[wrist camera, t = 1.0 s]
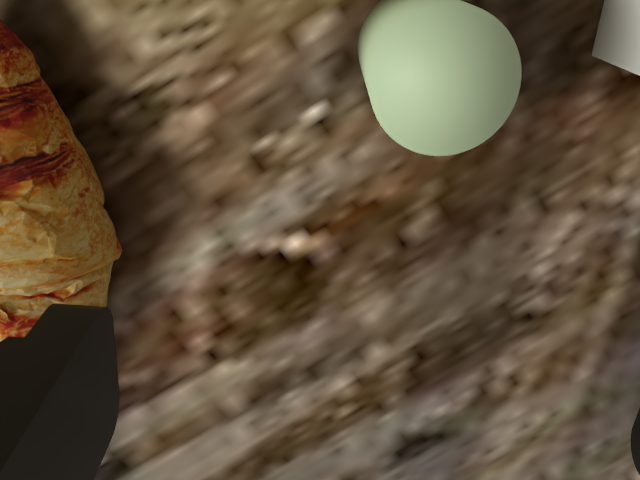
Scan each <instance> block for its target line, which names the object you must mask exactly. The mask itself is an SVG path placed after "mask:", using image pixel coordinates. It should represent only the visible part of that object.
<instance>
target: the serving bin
mask: <svg viewBox="0 0 640 480" xmlns="http://www.w3.org/2000/svg"><path fill="white" fill-rule="evenodd" d="M591 56H594V57H596V58H598V59H601V60H603V61H605V62H608V63H610V64H613V65H615V66H617V67H620V68H622V69H625V70H627V71H629V72H632V73H634V74H637V75H639V76H640V0H604V3H603V8H602V12H601V16H600V21H599V25H598V29H597V34H596V38H595V42H594V47H593V51H592V55H591Z"/></svg>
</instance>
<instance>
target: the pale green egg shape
mask: <svg viewBox="0 0 640 480" xmlns="http://www.w3.org/2000/svg"><path fill="white" fill-rule="evenodd" d="M358 57H359V62H360V66H361V70H362V73H363V76H364V80H365V83H366V87H367V90H368V94H369V97H370V101H371V104H372V108H373V111H374V113H375V116H376V118H377V120H378V121H379V123H380V125H381V126H382V128H383V129H384V130H385V132H386V133H387V134H388V135H389V136H390V137H391V138H392V139H393V140H395V141H396V142H397V143H399V144H400V145H402V146H403V147H405V148H407V149H409V150H411V151H414V152H417V153H420V154H425V155H432V156H446V155H454V154H458V153H461V152H465V151H467V150H470V149H472V148H474V147H476V146H478V145H480V144H481V143H483V142H484V141H486V140H487V139H488V138H490V137H491V136H492V135H493V134H494V133H495V132H496V131H497V130H498V129H499V128H500V127H501V126H502V125H503V124H504V122H505V121H506V119H507V118H508V116H509V115H510V113H511V111H512V109H513V107H514V105H515V103H516V100H517V98H518V94H519V90H520V85H521V77H522V76H521V60H520V55H519V52H518V48H517V46H516V43H515V41H514V39H513V37H512V36H511V34H510V32H509V31H508V29H507V28H506V27H505V26H504V25H503V24H502V22H500V21H499V20H498V19H497V18H496V17H495V16H493V15H492V14H490V13H489V12H487V11H485V10H483V9H481V8H479V7H476V6H474V5H471V4H469V3H467V2H464V1H462V0H380V1H379V2H378V3H377V4H376V5H375V6H374V7H373V8H372V10H371V11H370V12H369V14H368V15H367V17H366V19H365V20H364V22H363V25H362V27H361V30H360V34H359V40H358Z"/></svg>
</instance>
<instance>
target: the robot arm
mask: <svg viewBox="0 0 640 480" xmlns="http://www.w3.org/2000/svg"><path fill="white" fill-rule="evenodd" d="M118 410H119V383H118V372H117V361H116V349H115V338H114V327H113V318H112V314H111V311H110V310H109V308H107V307H100V306H85V305H70V304H55V303H54V304H51V305H50V306H49V307H48V308H47V309H46V310H45V311H44V313H43V314H42V315H41V317H40V318H39V319H38V321H37V322H36V323H35V324H34V326H33V327H32V328H31V330H30V331H29V332H28V334H27V335H26V336H25V337H10V336H8V337H7V338H5V339H4V340H2V341H1V342H0V480H94V478H95V475H96V473H97V471H98V469H99V466H100V464H101V462H102V459H103V457H104V455H105V452H106V450H107V448H108V445H109V443H110V441H111V438H112V436H113V433H114V430H115V426H116V422H117V417H118ZM631 451H632V457H633V461H634V464H635V466H636V469H637V471H638V473H639V475H640V409H639V412H638V414H637V417H636V419H635V422H634V425H633V428H632V433H631Z"/></svg>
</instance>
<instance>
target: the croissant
mask: <svg viewBox="0 0 640 480" xmlns="http://www.w3.org/2000/svg"><path fill="white" fill-rule="evenodd" d="M103 204H104V192H103V189H102V186H101V183H100V180H99V178H98V176H97V173H96V171H95V169H94V167H93V165H92V162H91V160H90V158H89V156H88V154H87V152H86V150H85V149H84V147H83V146H82V145H81V143H80V142H79V140H78V139H77V138H76V136H75V135H74V132H73V130H72V127H71V125H70V122H69V120H68V119H67V117H66V116H65V114H64V113H63V111H62V109H61V108H60V106H59V104H58V102H57V101H56V99H55V97H54V95H53V93H52V91H51V90H50V88H49V86H48V85H47V84H46V83H45V81H44V80H43V79H42V78H41V76H40V68H39V66H38V64H37V62H36V60H35V58H34V56H33V53H32V52H31V51H30V50H29V49H28V48H27V47H26V46H25V45H24V44H23V43H22V41H21V40H20V39H19V38H18V37H17V36H16V35H15V34H14V32H13V31H12V30H11V29H10V28H9V27H8V26H6V25H5V24H4V23H3V22H2V21H1V20H0V342H1V341H2V340H4V339H5V338H7V337H8V336H10V337H25V336H26V335H27V334H28V332H29V331H30V330H31V328H32V327H33V326H34V324H35V323H36V322H37V321H38V319H39V318H40V317H41V315H42V314H43V313H44V311H45V310H46V309H47V308H48V307H49V306H50V305H51V304H54V303H55V304H70V305H85V306H100V307H106V305H107V293H108V286H109V282H110V279H111V268H112V265H113V262H114V261H115V260H117V259H118V258H119V257H120V255H121V252H122V250H123V249H122V247H121V245H120V243H119V241H118V239H117V237H116V234H115V229H114V226H113V223H112V221H111V220H110V218H109V216H108V214H107V211H106V210H105V209H104V208H103Z"/></svg>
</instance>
